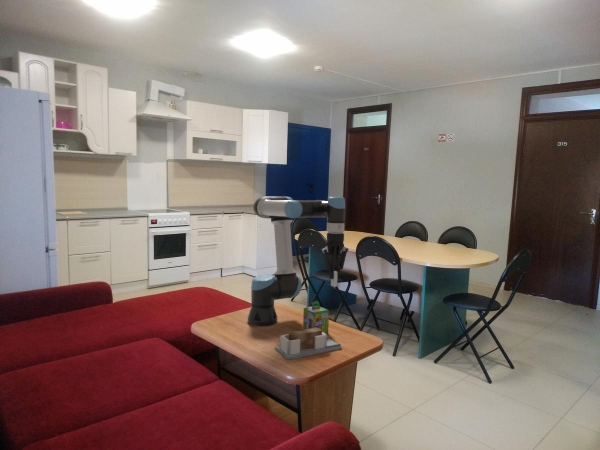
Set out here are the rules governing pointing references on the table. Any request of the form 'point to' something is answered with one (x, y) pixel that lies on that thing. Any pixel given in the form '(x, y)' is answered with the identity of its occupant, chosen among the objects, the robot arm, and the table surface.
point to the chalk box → (316, 317)
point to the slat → (305, 337)
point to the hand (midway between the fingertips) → (333, 285)
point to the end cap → (320, 341)
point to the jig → (292, 350)
